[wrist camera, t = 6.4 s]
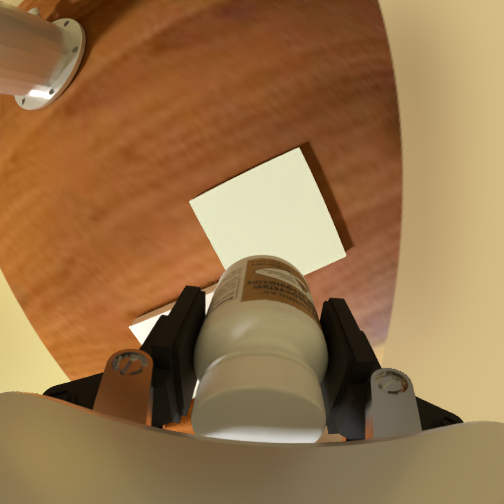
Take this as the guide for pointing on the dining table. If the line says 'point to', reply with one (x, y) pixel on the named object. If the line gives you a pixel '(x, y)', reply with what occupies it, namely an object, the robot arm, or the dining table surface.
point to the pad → (271, 216)
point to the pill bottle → (260, 357)
